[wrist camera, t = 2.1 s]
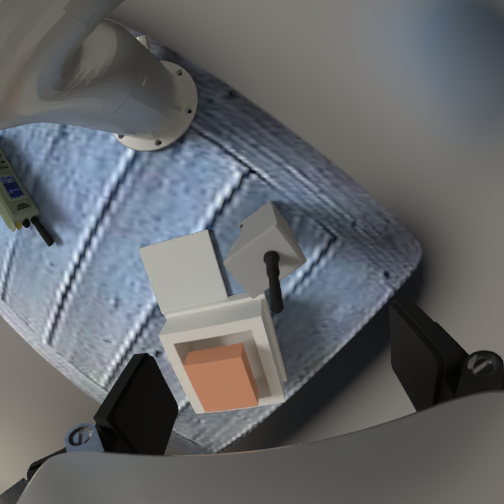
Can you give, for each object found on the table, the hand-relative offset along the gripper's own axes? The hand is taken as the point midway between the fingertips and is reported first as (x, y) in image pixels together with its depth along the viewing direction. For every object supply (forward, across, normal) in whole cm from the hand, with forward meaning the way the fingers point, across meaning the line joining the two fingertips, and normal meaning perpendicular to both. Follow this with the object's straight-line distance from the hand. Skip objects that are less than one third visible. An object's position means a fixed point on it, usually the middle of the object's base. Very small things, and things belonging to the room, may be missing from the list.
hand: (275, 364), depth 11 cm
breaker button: (+22, +9, +15) cm, 28 cm away
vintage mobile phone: (+29, 0, -1) cm, 29 cm away
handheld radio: (+29, +38, -17) cm, 50 cm away
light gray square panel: (+28, +12, +3) cm, 31 cm away
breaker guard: (+29, +9, +15) cm, 34 cm away
